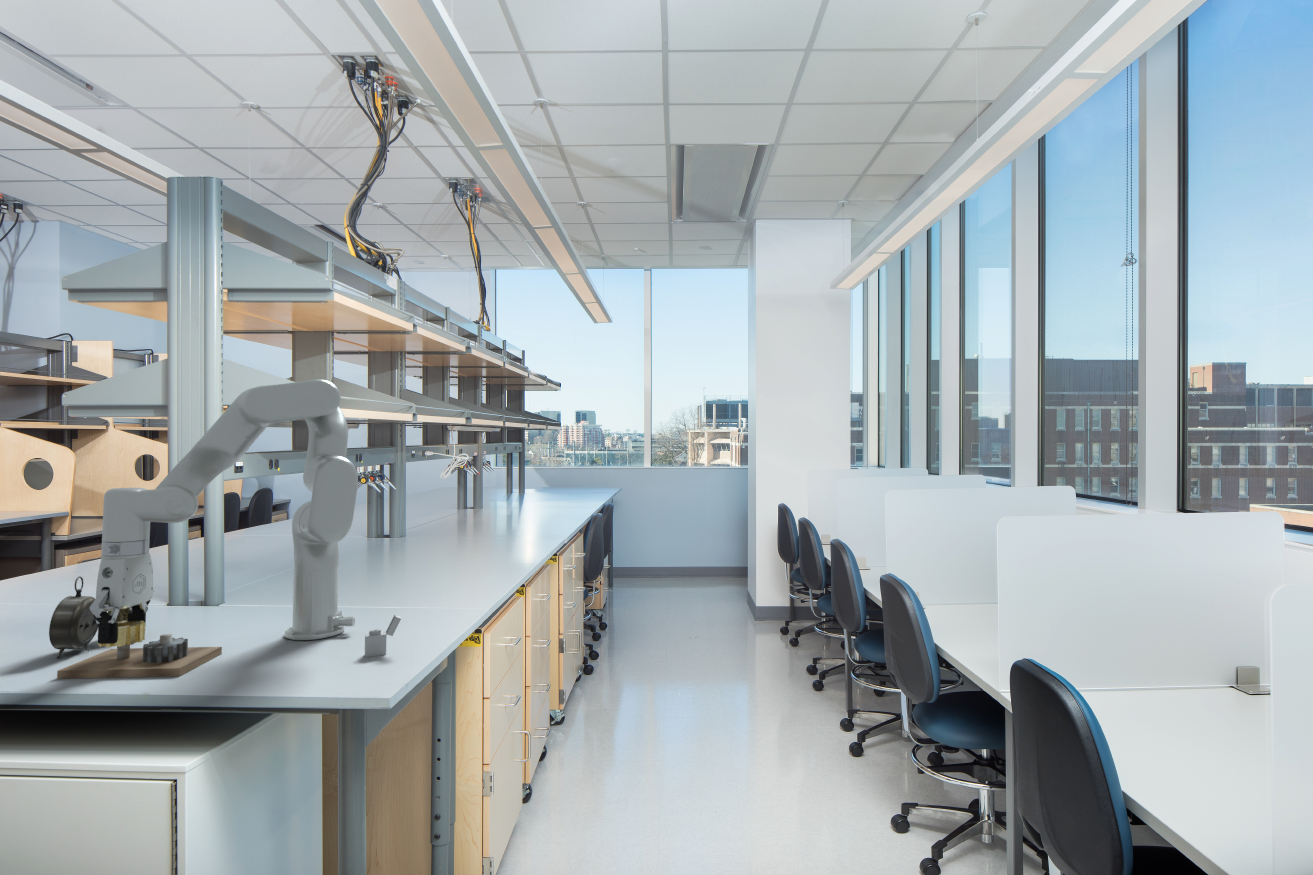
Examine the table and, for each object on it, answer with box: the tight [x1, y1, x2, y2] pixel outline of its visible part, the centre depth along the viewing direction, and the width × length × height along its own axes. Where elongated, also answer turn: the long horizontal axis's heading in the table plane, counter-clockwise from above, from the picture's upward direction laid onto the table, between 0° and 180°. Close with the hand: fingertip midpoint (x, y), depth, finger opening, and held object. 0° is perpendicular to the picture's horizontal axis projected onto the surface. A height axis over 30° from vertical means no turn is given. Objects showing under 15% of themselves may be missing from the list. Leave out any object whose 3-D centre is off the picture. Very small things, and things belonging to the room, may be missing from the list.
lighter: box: [364, 614, 402, 658], centre depth 141 cm, size 7×2×8 cm, turn 118°
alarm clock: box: [48, 575, 98, 660], centre depth 141 cm, size 11×5×16 cm, turn 16°
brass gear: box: [97, 620, 146, 648], centre depth 132 cm, size 7×7×4 cm
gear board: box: [56, 633, 223, 680], centre depth 132 cm, size 22×14×6 cm, turn 95°
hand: (122, 636), depth 132 cm, fingers closed on brass gear, 7 cm apart
